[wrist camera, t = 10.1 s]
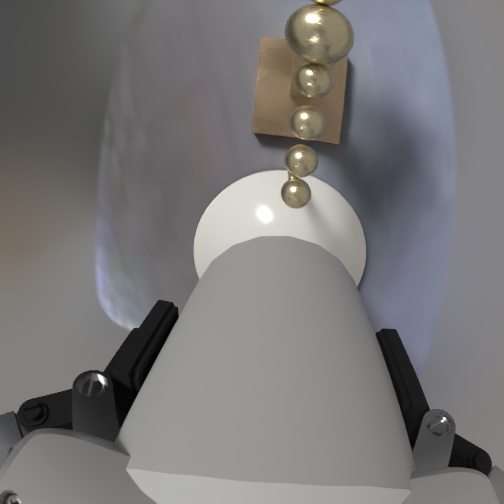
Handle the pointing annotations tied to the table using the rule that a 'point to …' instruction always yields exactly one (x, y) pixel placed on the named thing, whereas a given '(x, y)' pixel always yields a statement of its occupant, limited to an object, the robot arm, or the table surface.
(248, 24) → the table surface
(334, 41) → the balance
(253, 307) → the can
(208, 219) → the white rounded disc
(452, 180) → the table surface
